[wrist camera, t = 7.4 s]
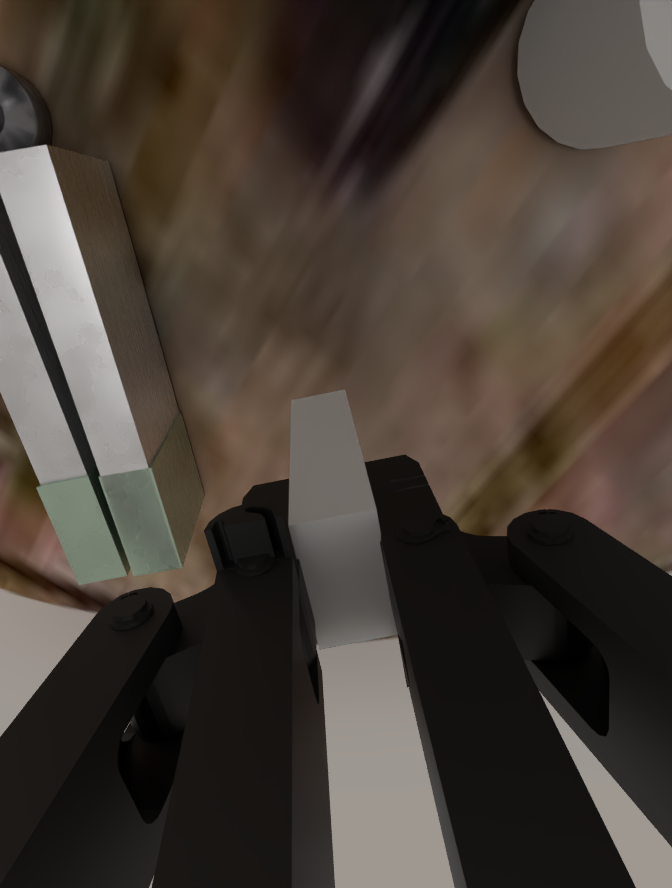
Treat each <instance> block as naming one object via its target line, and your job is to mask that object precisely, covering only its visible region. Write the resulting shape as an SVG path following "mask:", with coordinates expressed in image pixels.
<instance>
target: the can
mask: <svg viewBox="0 0 672 888" xmlns="http://www.w3.org/2000/svg"><path fill="white" fill-rule="evenodd" d="M517 76H518V80H519V84H520V88H521V93H522V97H523V101H524V104H525V106H526V108H527V109H528V111H529V113H530V114H531V116H532V118H533V119H534V121H535V123H536V124H537V126H538V127H539V128H540V129H541V130H542V131H544V132H545V133H546V134H547V135H549V136H550V137H551V138H553V139H554V140H555V141H556V142H558V143H560V144H564V145H567V146H570V147H574V148H577V149H580V150H584V149H596V148H607V147H612V146H617V145H622V144H627V143H632V142H637V141H642V140H647V139H652V138H657V137H662V136H667V135H672V0H535V1H534V2H533V4H532V5H531V7H530V9H529V10H528V13H527V17H526V20H525V23H524V27H523V30H522V33H521V37H520V40H519V45H518V71H517Z"/></svg>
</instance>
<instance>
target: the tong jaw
mask: <svg viewBox="0 0 672 888" xmlns="http://www.w3.org/2000/svg"><path fill="white" fill-rule="evenodd" d="M0 194H1V196H2V199H3V202H4V205H5V208H6V211H7V213H8V216H9V219H10V222H11V225H12V227H13V230H14V233H15V236H16V239H17V242H18V244H19V247H20V250H21V253H22V256H23V259H24V261H25V264H26V267H27V270H28V273H29V275H30V278H31V281H32V284H33V287H34V290H35V292H36V295H37V298H38V301H39V304H40V307H41V309H42V312H43V315H44V318H45V321H46V323H47V326H48V329H49V332H50V335H51V338H52V340H53V343H54V346H55V349H56V352H57V354H58V357H59V360H60V363H61V366H62V369H63V371H64V374H65V377H66V380H67V383H68V386H69V388H70V391H71V394H72V397H73V400H74V402H75V405H76V408H77V411H78V414H79V417H80V419H81V422H82V425H83V428H84V431H85V434H86V436H87V439H88V442H89V445H90V448H91V450H92V453H93V456H94V459H95V462H96V465H97V467H98V470H99V473H100V475H99V480H100V483H101V486H102V489H103V491H104V494H105V497H106V500H107V503H108V505H109V508H110V511H111V514H112V517H113V519H114V522H115V525H116V528H117V531H118V534H119V536H120V539H121V542H122V545H123V548H124V550H125V553H126V556H127V559H128V562H129V564H130V567H131V570H132V573H133V576H138V575H144V574H150V573H155V572H161V571H167V570H173V569H178V568H183V564H184V561H185V558H186V554H187V551H188V548H189V545H190V541H191V538H192V535H193V531H194V528H195V525H196V521H197V518H198V515H199V512H200V508H201V505H202V502H203V498H204V492H203V489H202V485H201V481H200V478H199V474H198V471H197V467H196V464H195V460H194V456H193V453H192V449H191V446H190V442H189V438H188V435H187V431H186V428H185V424H184V421H183V417H182V413H181V412H180V413H179V410H178V406H177V403H176V399H175V395H174V392H173V388H172V385H171V381H170V378H169V374H168V371H167V367H166V363H165V360H164V356H163V353H162V349H161V346H160V342H159V339H158V335H157V331H156V328H155V324H154V321H153V317H152V314H151V310H150V306H149V303H148V299H147V296H146V292H145V289H144V285H143V282H142V278H141V274H140V271H139V267H138V264H137V260H136V257H135V253H134V250H133V246H132V242H131V239H130V235H129V232H128V228H127V225H126V221H125V217H124V214H123V210H122V207H121V203H120V200H119V196H118V193H117V189H116V185H115V182H114V178H113V175H112V171H111V168H110V164H109V161H105V160H102V159H98V158H94V157H90V156H87V155H83V154H79V153H76V152H72V151H68V150H65V149H61V148H57V147H53V146H50V145H41V146H35V147H29V148H24V149H18V150H12V151H6V152H0Z"/></svg>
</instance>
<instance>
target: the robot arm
mask: <svg viewBox="0 0 672 888" xmlns="http://www.w3.org/2000/svg"><path fill="white" fill-rule="evenodd" d="M204 532H205V535H206V538H207V541H208V545H209V548H210V551H211V554H212V557H213V560H214V563H215V566H216V569H217V574H216V579H215V584H214V585H212V586H211V587H209V588H208V589H206V590H204V591H202V592H200V593H198V594H196V595H193V596H191V597H188V598H186V599H183V600H181V601H178V602H176V603H174V602H173V599H172V597H171V594H170V593H168V592H167V591H165V590H164V589H161V588H152V587H149V588H143V589H137V590H134V591H130V592H129V593H128V592H127V593H125V594H123V595H121V596H119V597H118V598H116V599H115V600H113V601H111V602H110V603H108V604H107V605H106V606H105V607H104V608H103V609H102V610H100V611H99V612H98V613H97V614H96V615H95V617H94V618H93V619H92V621H91V622H90V623H89V624H88V626H87V627H86V628H85V630H84V631H83V632H82V633H81V635H80V636H79V637H78V638H77V640H76V641H75V642H74V644H73V645H72V646H71V647H70V649H69V650H68V651H67V653H66V654H65V655H64V656H63V658H62V659H61V660H60V662H59V663H58V664H57V665H56V667H55V668H54V669H53V670H52V672H51V673H50V674H49V676H48V677H47V678H46V679H45V681H44V682H43V683H42V685H41V686H40V687H39V688H38V690H37V691H36V692H35V693H34V695H33V696H32V697H31V699H30V700H29V701H28V702H27V704H26V705H25V706H24V707H23V709H22V710H21V711H20V713H19V714H18V715H17V716H16V718H15V719H14V720H13V722H12V723H11V724H10V725H9V727H8V728H7V729H6V731H5V732H4V733H3V734H2V736H1V737H0V888H149V886H150V883H151V881H152V879H153V876H154V879H153V884H152V888H335V880H334V864H333V847H332V831H331V814H330V798H329V781H328V764H327V747H326V731H325V714H324V698H323V681H322V670H321V666H320V662H319V658H318V654H317V650H316V638H317V641H318V645H319V649H325V648H331V647H336V646H341V645H346V644H352V643H357V642H362V641H367V640H373V639H378V638H383V637H389V636H394V635H398V639H399V644H400V650H401V655H402V661H403V667H404V672H405V678H406V683H407V687H409V690H410V694H411V699H412V703H413V707H414V712H415V716H416V721H417V725H418V730H419V734H420V738H421V742H422V747H423V751H424V756H425V760H426V764H427V769H428V773H429V778H430V782H431V786H432V791H433V795H434V799H435V804H436V808H437V812H438V816H439V821H440V825H441V829H442V834H443V838H444V843H445V847H446V852H447V856H448V860H449V865H450V869H451V873H452V878H453V882H454V887H455V888H636V887H635V885H634V883H633V881H632V879H631V877H630V875H629V873H628V871H627V869H626V867H625V865H624V863H623V861H622V858H621V857H620V854H619V853H618V850H617V848H616V847H615V845H614V842H613V840H612V838H611V836H610V834H609V832H608V830H607V828H606V826H605V824H604V822H603V820H602V818H601V816H600V814H599V812H598V810H597V808H596V806H595V804H594V802H593V800H592V798H591V796H590V794H589V792H588V790H587V787H586V786H585V783H584V781H583V779H582V777H581V775H580V773H579V771H578V769H577V767H576V765H575V763H574V761H573V759H572V757H571V755H570V753H569V751H568V749H567V747H566V745H565V743H564V741H563V739H562V737H561V735H560V733H559V731H558V729H557V727H556V725H555V723H554V721H553V719H552V716H551V715H550V712H549V710H548V708H547V707H546V704H545V702H544V701H543V698H542V696H541V694H540V692H541V693H542V694H543V696H544V697H545V698H546V699H547V700H548V702H549V703H550V704H551V705H552V706H553V707H554V709H555V710H556V711H557V712H558V713H559V715H560V716H561V717H562V718H563V719H564V720H565V722H566V723H567V724H568V725H569V726H570V728H571V729H572V730H573V731H574V732H575V733H576V735H577V736H578V737H579V738H580V739H581V740H582V742H583V743H584V744H585V745H586V746H587V748H588V749H589V750H590V751H591V752H592V753H593V755H594V756H595V757H596V758H597V759H598V761H599V762H600V763H601V764H602V765H603V766H604V768H605V769H606V770H607V771H608V772H609V773H610V775H611V776H612V777H613V778H614V779H615V781H616V782H617V783H618V784H619V785H620V786H621V788H622V789H623V790H624V791H625V792H626V794H627V795H628V796H629V797H630V798H631V799H632V801H633V802H634V803H635V804H636V805H637V807H638V808H639V809H640V810H641V811H642V812H643V814H644V815H645V816H646V817H647V818H648V820H649V821H650V822H651V823H652V824H653V825H654V827H655V828H656V829H657V830H658V831H659V832H660V834H661V835H662V836H663V837H664V838H665V840H667V842H668V843H669V844H670V845H671V847H672V576H671V575H669V574H668V573H666V572H665V571H663V570H662V569H660V568H659V567H657V566H656V565H654V564H653V563H651V562H650V561H648V560H647V559H645V558H644V557H642V556H640V555H639V554H637V553H636V552H634V551H633V550H631V549H630V548H628V547H627V546H625V545H624V544H622V543H621V542H619V541H618V540H616V539H615V538H613V537H612V536H610V535H609V534H607V533H606V532H604V531H603V530H601V529H600V528H598V527H597V526H595V525H594V524H592V523H591V522H589V521H588V520H586V519H584V518H582V517H580V516H578V515H576V514H573V513H570V512H565V511H560V510H552V509H548V510H546V509H545V510H537V511H532V512H528V513H524V514H522V515H520V516H519V517H517V518H515V519H513V521H512V522H511V523H510V524H509V526H508V527H507V536H478V535H472V534H468V533H464V532H462V531H460V530H459V528H458V526H457V524H456V523H455V522H454V521H453V520H452V519H451V518H450V517H448V516H446V515H443V514H442V511H441V509H440V507H439V505H438V503H437V501H436V499H435V497H434V494H433V492H432V490H431V488H430V486H429V485H428V482H427V479H426V477H425V476H424V473H423V471H422V469H421V467H420V465H419V462H417V461H415V460H413V459H412V458H410V457H408V456H407V455H400V456H395V457H390V458H385V459H380V460H375V461H369V462H364V460H363V456H362V452H361V448H360V445H359V441H358V437H357V433H356V429H355V426H354V422H353V418H352V414H351V410H350V407H349V403H348V399H347V395H346V391H345V389H344V390H339V391H334V392H329V393H324V394H319V395H314V396H308V397H303V398H298V399H293V400H291V427H290V473H289V479H285V480H280V481H275V482H270V483H265V484H259V485H254V486H253V487H252V488H251V490H250V491H249V492H248V493H247V494H246V495H245V497H244V498H243V501H242V505H240V506H237V507H233V508H231V509H229V510H227V511H225V512H223V513H221V514H219V515H217V516H216V517H215V518H214V519H213V520H211V521H210V522H209V523H208V525H207V527H206V528H205V530H204ZM539 691H540V692H539ZM129 722H130V724H129ZM128 724H129V725H128ZM127 726H128V727H127ZM126 728H127V729H126ZM125 729H126V731H125ZM124 731H125V732H124Z"/></svg>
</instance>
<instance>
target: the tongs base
mask: <svg viewBox="0 0 672 888" xmlns="http://www.w3.org/2000/svg"><path fill="white" fill-rule="evenodd" d="M51 141H52V122H51V117H50V114H49V111H48V108H47V106H46V104H45V102H44V100H43V98H42V97H41V95H40V94H39V93H38V91H37V90H36V89H35V88H34V87H33V86H32V85H31V84H30V83H29V82H28V81H27V80H25V79H24V78H23V77H21V76H20V75H18V74H16V73H14V72H12V71H10V70H8V69H6V68H4V67H2V66H0V152H6V151H12V150H18V149H24V148H29V147H35V146H41V145H51ZM0 392H1V395H2V397H3V399H4V402H5V404H6V406H7V408H8V411H9V413H10V415H11V418H12V420H13V422H14V425H15V427H16V429H17V432H18V434H19V436H20V438H21V441H22V443H23V445H24V448H25V450H26V452H27V455H28V457H29V459H30V462H31V464H32V466H33V468H34V471H35V473H36V475H37V478H38V480H39V482H40V484H39V485H38V486H37V487H36V488H37V490H38V493H39V495H40V497H41V499H42V502H43V504H44V506H45V509H46V511H47V513H48V515H49V518H50V520H51V522H52V525H53V527H54V529H55V531H56V534H57V536H58V538H59V541H60V543H61V545H62V547H63V550H64V552H65V554H66V557H67V559H68V561H69V563H70V566H71V568H72V570H73V573H74V575H75V577H76V579H77V582H78V584H79V585H82V584H87V583H92V582H97V581H102V580H107V579H112V578H118V577H123V576H127V575H128V573H129V570H130V568H131V567H130V564H129V562H128V559H127V556H126V553H125V550H124V548H123V545H122V542H121V539H120V536H119V534H118V531H117V528H116V525H115V522H114V519H113V517H112V514H111V511H110V508H109V505H108V503H107V500H106V497H105V494H104V491H103V489H102V486H101V483H100V480H99V475H100V473H99V470H98V467H97V465H96V462H95V459H94V456H93V453H92V450H91V448H90V445H89V442H88V439H87V436H86V434H85V431H84V428H83V425H82V422H81V419H80V417H79V414H78V411H77V408H76V405H75V402H74V400H73V397H72V394H71V391H70V388H69V386H68V383H67V380H66V377H65V374H64V371H63V369H62V366H61V363H60V360H59V357H58V354H57V352H56V349H55V346H54V343H53V340H52V338H51V335H50V332H49V329H48V326H47V323H46V321H45V318H44V315H43V312H42V309H41V307H40V304H39V301H38V298H37V295H36V292H35V290H34V287H33V284H32V281H31V278H30V275H29V273H28V270H27V267H26V264H25V261H24V259H23V256H22V253H21V250H20V247H19V244H18V242H17V239H16V236H15V233H14V230H13V227H12V225H11V222H10V219H9V216H8V213H7V211H6V208H5V205H4V202H3V199H2V196H1V194H0Z"/></svg>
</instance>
